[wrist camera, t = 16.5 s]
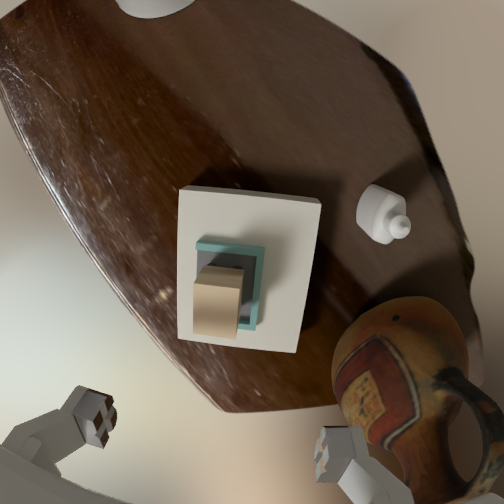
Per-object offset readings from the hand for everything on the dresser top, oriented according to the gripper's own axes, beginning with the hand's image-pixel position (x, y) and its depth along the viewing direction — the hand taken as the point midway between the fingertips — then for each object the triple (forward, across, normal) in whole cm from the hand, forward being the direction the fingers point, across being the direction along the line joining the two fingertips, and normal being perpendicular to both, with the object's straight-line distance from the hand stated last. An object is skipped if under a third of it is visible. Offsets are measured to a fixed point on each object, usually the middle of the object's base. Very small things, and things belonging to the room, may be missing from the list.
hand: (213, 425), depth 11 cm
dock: (+31, +1, +6) cm, 32 cm away
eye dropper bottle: (+31, -14, -4) cm, 35 cm away
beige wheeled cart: (+27, +3, +7) cm, 28 cm away
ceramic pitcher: (+31, -22, +16) cm, 42 cm away
